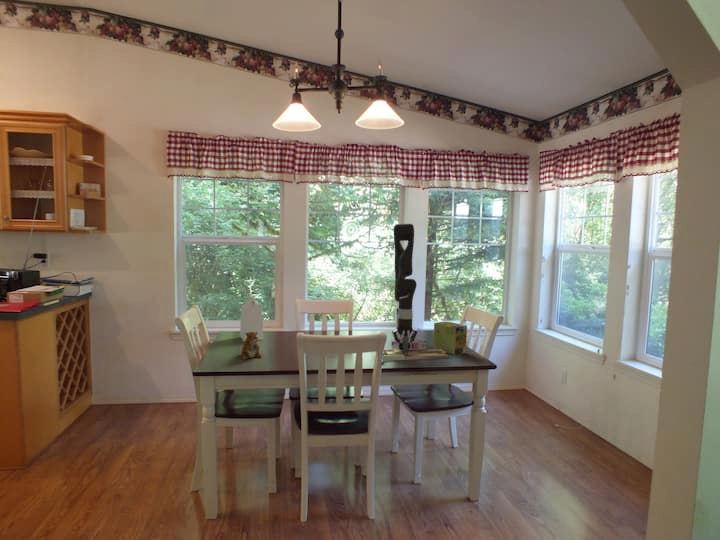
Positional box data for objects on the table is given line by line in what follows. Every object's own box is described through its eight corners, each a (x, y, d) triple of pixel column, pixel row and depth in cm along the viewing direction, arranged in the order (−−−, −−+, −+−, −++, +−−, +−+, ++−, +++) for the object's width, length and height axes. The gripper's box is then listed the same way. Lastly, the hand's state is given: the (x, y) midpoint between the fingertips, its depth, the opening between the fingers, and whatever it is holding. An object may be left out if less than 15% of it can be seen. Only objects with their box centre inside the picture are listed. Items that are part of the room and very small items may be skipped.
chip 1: (385, 357, 232) (385, 351, 232) (393, 357, 233) (393, 351, 233) (387, 359, 228) (388, 353, 228) (395, 359, 229) (395, 353, 229)
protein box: (454, 356, 238) (455, 327, 237) (432, 350, 250) (433, 322, 249) (466, 353, 245) (467, 325, 244) (444, 347, 257) (445, 320, 255)
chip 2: (392, 355, 233) (393, 350, 233) (400, 355, 234) (400, 349, 234) (395, 357, 229) (395, 352, 229) (402, 357, 230) (402, 351, 230)
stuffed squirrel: (243, 360, 222) (243, 335, 221) (237, 353, 235) (237, 329, 234) (263, 358, 227) (263, 333, 225) (256, 351, 239) (256, 327, 238)
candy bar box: (427, 340, 244) (403, 342, 235) (427, 349, 243) (403, 351, 235) (414, 339, 253) (390, 341, 245) (414, 348, 253) (391, 350, 244)
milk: (240, 337, 270) (239, 294, 268) (259, 335, 275) (259, 294, 273) (243, 341, 260) (243, 297, 257) (263, 340, 264) (263, 296, 262)
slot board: (396, 354, 238) (396, 349, 238) (438, 352, 244) (438, 347, 244) (404, 361, 226) (404, 356, 226) (448, 359, 231) (448, 354, 231)
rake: (399, 354, 235) (400, 334, 234) (405, 354, 236) (405, 333, 235) (403, 357, 229) (403, 336, 228) (408, 357, 230) (409, 336, 229)
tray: (374, 356, 235) (374, 349, 235) (397, 355, 238) (397, 348, 238) (380, 362, 223) (380, 356, 223) (404, 361, 226) (404, 354, 226)
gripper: (415, 315, 236) (414, 347, 237) (390, 316, 233) (389, 348, 234) (420, 318, 229) (419, 350, 230) (394, 318, 225) (393, 352, 227)
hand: (404, 349), depth 232 cm, fingers closed on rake, 3 cm apart
